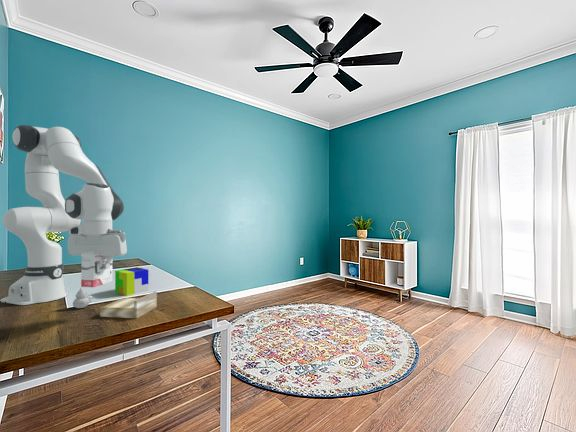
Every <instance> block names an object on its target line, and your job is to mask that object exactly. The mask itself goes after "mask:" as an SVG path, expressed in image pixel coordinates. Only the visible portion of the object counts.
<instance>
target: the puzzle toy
mask: <svg viewBox="0 0 576 432" xmlns="http://www.w3.org/2000/svg"><path fill="white" fill-rule="evenodd" d="M114 273H115V275H114V277H115V278H114V281H115V282H114V283H115V284H114V286H115V293H117V294H120V295H123V296H127V297H128V296H131V295H136V294H140V293H144V292H149V269H147V268H143V267H129V268H125V269H118V270H115V271H114Z"/></svg>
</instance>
